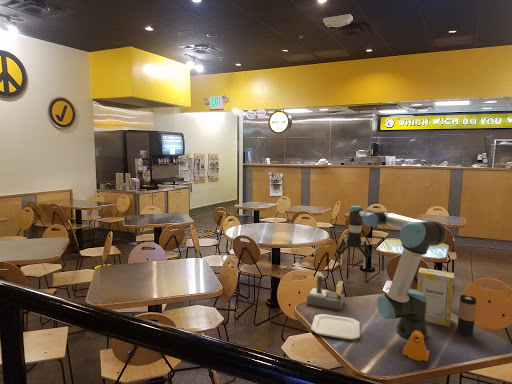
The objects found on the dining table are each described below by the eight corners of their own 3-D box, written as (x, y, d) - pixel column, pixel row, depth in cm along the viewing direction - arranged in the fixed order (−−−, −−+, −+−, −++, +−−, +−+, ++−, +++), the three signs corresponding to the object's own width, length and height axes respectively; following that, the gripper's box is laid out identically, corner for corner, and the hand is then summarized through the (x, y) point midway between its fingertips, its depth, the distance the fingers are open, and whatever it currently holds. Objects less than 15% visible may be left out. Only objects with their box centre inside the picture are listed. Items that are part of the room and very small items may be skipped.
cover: (325, 298, 226) (326, 280, 225) (309, 295, 230) (310, 277, 229) (328, 292, 237) (329, 275, 236) (313, 290, 240) (314, 272, 239)
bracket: (428, 356, 173) (431, 331, 172) (427, 363, 167) (429, 337, 166) (404, 349, 178) (406, 325, 177) (402, 356, 172) (404, 331, 171)
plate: (359, 323, 206) (359, 319, 206) (359, 344, 182) (360, 339, 182) (315, 316, 213) (315, 312, 212) (309, 335, 189) (310, 331, 189)
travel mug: (464, 337, 193) (468, 300, 191) (453, 330, 200) (456, 295, 198) (476, 336, 195) (480, 299, 193) (464, 329, 202) (468, 294, 201)
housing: (340, 310, 222) (341, 302, 222) (306, 304, 229) (307, 296, 229) (343, 302, 235) (344, 294, 235) (311, 296, 242) (312, 289, 242)
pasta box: (414, 318, 214) (418, 272, 211) (416, 312, 223) (419, 267, 220) (449, 326, 205) (454, 277, 203) (449, 319, 215) (454, 273, 212)
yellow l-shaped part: (339, 300, 224) (340, 286, 223) (323, 297, 227) (324, 283, 226) (342, 295, 233) (343, 281, 232) (326, 292, 237) (327, 278, 236)
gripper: (377, 233, 218) (374, 267, 220) (334, 228, 228) (332, 261, 229) (376, 235, 211) (373, 271, 213) (332, 230, 221) (330, 264, 223)
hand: (352, 266), depth 221 cm, fingers open, 13 cm apart
